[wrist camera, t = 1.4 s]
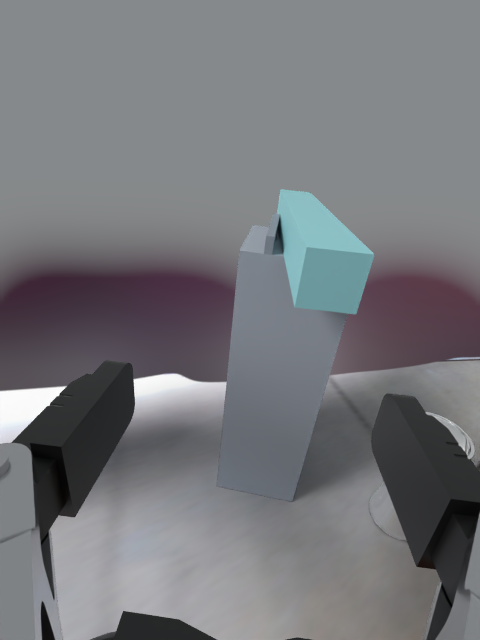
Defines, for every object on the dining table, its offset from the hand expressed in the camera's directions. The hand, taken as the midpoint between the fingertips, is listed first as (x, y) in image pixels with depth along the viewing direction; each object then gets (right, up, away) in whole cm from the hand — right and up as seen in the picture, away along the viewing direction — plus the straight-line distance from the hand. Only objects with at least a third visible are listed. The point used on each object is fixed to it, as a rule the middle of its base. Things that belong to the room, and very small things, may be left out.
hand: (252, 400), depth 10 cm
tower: (+2, -18, +36) cm, 40 cm away
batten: (+5, +9, +18) cm, 21 cm away
